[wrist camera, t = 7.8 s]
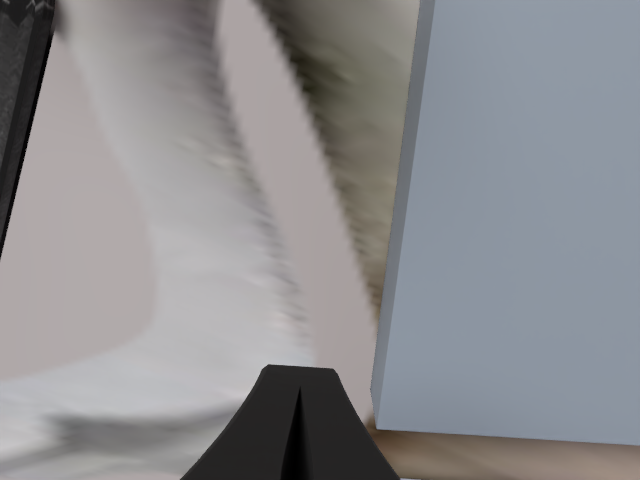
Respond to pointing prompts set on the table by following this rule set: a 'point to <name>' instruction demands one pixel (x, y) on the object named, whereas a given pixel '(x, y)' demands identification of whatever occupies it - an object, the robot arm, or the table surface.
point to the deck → (516, 226)
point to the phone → (19, 88)
